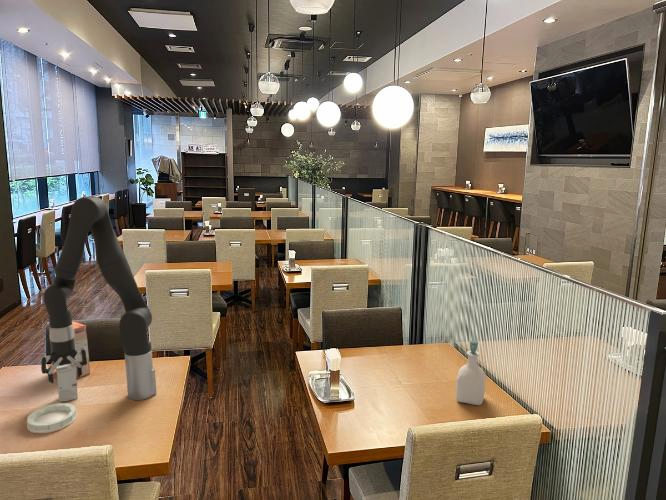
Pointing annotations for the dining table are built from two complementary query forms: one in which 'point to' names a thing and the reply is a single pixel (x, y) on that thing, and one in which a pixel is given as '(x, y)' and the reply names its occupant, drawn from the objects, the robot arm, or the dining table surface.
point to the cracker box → (80, 346)
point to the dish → (51, 418)
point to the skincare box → (67, 382)
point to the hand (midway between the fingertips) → (65, 379)
